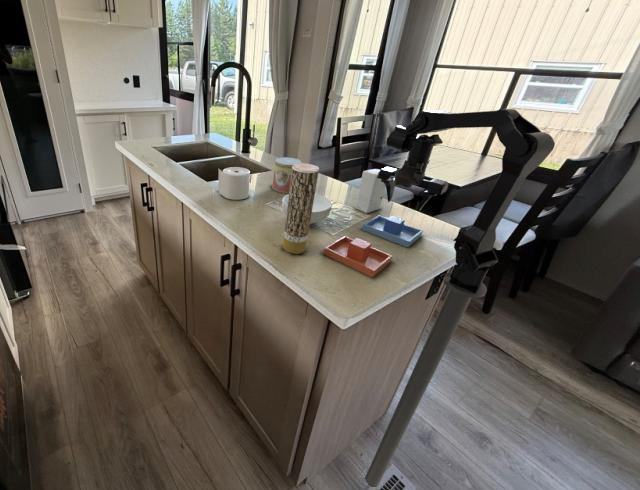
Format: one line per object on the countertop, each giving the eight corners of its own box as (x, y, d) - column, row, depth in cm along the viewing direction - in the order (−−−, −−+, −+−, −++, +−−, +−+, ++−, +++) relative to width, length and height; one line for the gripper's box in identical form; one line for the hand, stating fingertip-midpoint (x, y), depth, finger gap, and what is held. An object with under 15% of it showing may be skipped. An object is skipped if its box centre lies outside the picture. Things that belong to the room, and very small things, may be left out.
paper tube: (291, 240, 101) (302, 161, 89) (309, 249, 97) (323, 167, 85) (277, 248, 97) (287, 166, 85) (296, 257, 93) (309, 172, 81)
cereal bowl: (286, 206, 124) (288, 188, 121) (330, 214, 120) (334, 196, 116) (275, 225, 110) (277, 205, 107) (325, 234, 106) (329, 215, 102)
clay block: (368, 256, 94) (371, 243, 92) (360, 262, 91) (364, 248, 89) (354, 250, 96) (357, 237, 94) (346, 255, 94) (349, 242, 91)
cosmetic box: (367, 213, 121) (376, 175, 114) (353, 208, 125) (362, 170, 118) (380, 209, 126) (390, 171, 118) (366, 203, 130) (376, 167, 123)
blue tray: (421, 236, 107) (423, 230, 106) (407, 247, 100) (409, 241, 99) (377, 220, 117) (378, 215, 116) (362, 229, 110) (363, 224, 109)
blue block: (401, 231, 108) (405, 220, 106) (395, 236, 106) (399, 223, 103) (388, 227, 111) (391, 215, 109) (382, 231, 108) (386, 219, 106)
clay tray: (390, 262, 93) (392, 255, 92) (372, 277, 86) (374, 270, 85) (343, 241, 102) (344, 235, 101) (323, 253, 95) (324, 247, 94)
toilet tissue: (250, 199, 128) (252, 175, 123) (220, 200, 127) (220, 175, 122) (246, 190, 137) (247, 166, 133) (218, 190, 136) (218, 167, 131)
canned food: (267, 188, 140) (270, 161, 134) (279, 181, 148) (281, 155, 142) (291, 195, 135) (295, 166, 129) (302, 187, 143) (306, 160, 137)
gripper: (375, 154, 95) (363, 203, 103) (444, 169, 84) (425, 223, 91) (391, 148, 102) (379, 195, 110) (457, 162, 91) (438, 213, 98)
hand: (403, 206), depth 102 cm, fingers open, 9 cm apart
